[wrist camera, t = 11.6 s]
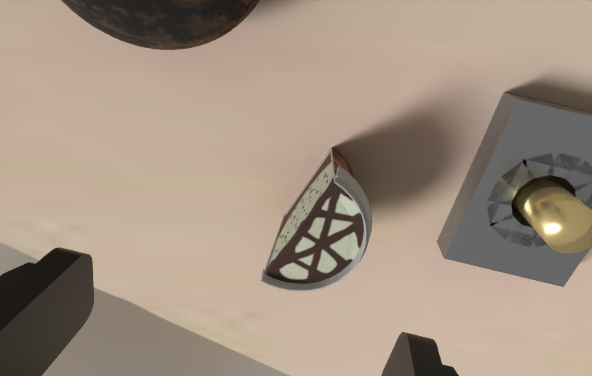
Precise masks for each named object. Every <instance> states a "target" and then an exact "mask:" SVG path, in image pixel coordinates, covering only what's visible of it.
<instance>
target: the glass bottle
mask: <svg viewBox="0 0 592 376" xmlns="http://www.w3.org/2000/svg"><path fill="white" fill-rule="evenodd" d="M62 1H63V2H64V3H65V4H66V5H67V6H68V7H69V8H70V9H71V10H72V11H73V12H75V13H76V14H77V15H78V16H80V17H81V18H82V19H84V20H85V21H86V22H88V23H89V24H91V25H92V26H94V27H95V28H97V29H99V30H101V31H103V32H104V33H106V34H108V35H110V36H112V37H114V38H117V39H119V40H121V41H124V42H127V43H130V44H133V45H137V46H140V47H145V48H151V49H160V50H176V49H186V48H192V47H196V46H200V45H203V44H206V43H209V42H211V41H214V40H216V39H218V38H220V37H221V36H223V35H225V34H226V33H228V32H230V31H231V30H232V29H233V28H235V27H236V26H237V25H238V24H239V23H241V22H242V21H243V20H244V19H245V18H246V17H247V16H248V15H249V14H250V12H251V11H252V10H253V9H254V8H255V6H256V5H257V4H258V2H259V1H260V0H62Z"/></svg>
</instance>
